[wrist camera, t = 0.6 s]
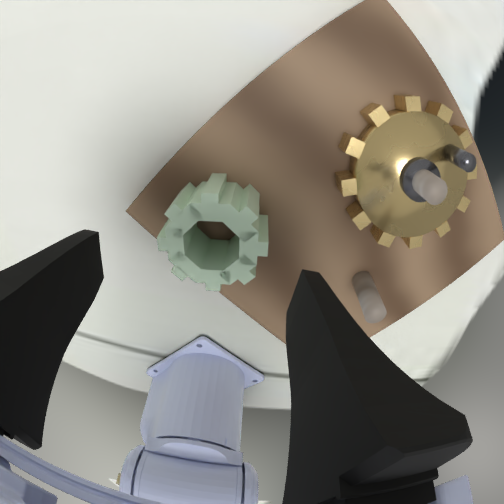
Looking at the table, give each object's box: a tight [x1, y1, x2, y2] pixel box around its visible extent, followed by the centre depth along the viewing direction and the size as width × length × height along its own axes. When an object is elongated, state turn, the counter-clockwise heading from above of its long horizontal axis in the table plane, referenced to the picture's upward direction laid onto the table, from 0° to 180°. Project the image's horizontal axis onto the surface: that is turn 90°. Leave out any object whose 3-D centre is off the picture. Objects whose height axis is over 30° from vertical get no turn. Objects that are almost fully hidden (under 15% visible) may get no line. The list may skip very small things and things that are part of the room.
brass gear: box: [335, 95, 477, 249], centre depth 14 cm, size 9×9×4 cm
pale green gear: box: [157, 173, 269, 291], centre depth 16 cm, size 6×6×3 cm
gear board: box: [126, 0, 504, 344], centre depth 16 cm, size 20×20×5 cm
